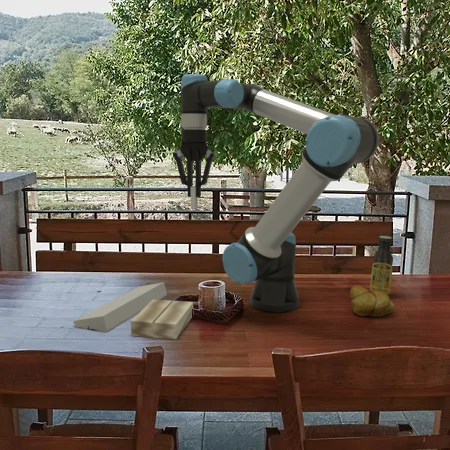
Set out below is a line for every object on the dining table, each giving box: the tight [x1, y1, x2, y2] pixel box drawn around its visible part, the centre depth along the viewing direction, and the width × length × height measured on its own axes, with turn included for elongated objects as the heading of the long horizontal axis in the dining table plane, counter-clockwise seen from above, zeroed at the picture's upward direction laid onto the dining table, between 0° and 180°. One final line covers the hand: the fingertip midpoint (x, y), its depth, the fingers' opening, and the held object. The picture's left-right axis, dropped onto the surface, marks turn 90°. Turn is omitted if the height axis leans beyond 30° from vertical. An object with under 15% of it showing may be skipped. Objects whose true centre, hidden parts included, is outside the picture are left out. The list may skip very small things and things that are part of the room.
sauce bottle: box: [369, 235, 394, 298], centre depth 164 cm, size 7×6×20 cm
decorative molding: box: [72, 282, 168, 333], centre depth 151 cm, size 34×5×10 cm
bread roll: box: [349, 284, 395, 317], centre depth 149 cm, size 13×10×8 cm
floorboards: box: [130, 299, 194, 340], centre depth 139 cm, size 12×18×4 cm, turn 169°
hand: (194, 207), depth 155 cm, fingers closed
